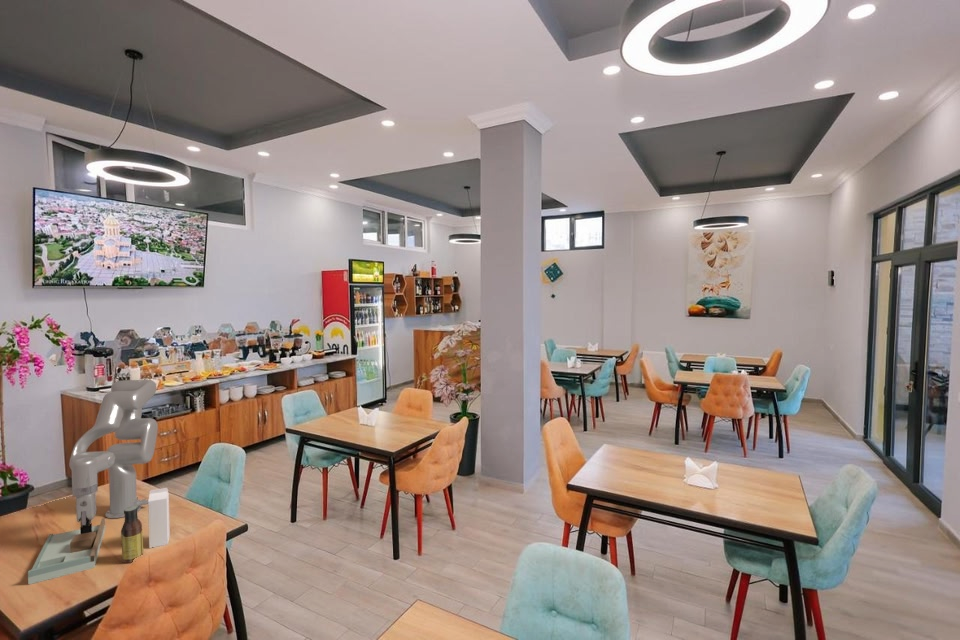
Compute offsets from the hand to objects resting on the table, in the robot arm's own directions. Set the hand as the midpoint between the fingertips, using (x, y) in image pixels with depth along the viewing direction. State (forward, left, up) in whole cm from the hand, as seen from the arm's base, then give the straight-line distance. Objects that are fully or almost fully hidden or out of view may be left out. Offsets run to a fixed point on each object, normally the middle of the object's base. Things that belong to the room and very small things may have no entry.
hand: (86, 534), depth 175 cm
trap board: (+4, +7, -3) cm, 8 cm away
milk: (-24, +16, -4) cm, 29 cm away
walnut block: (0, +9, -1) cm, 9 cm away
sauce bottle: (-16, +24, -4) cm, 29 cm away
